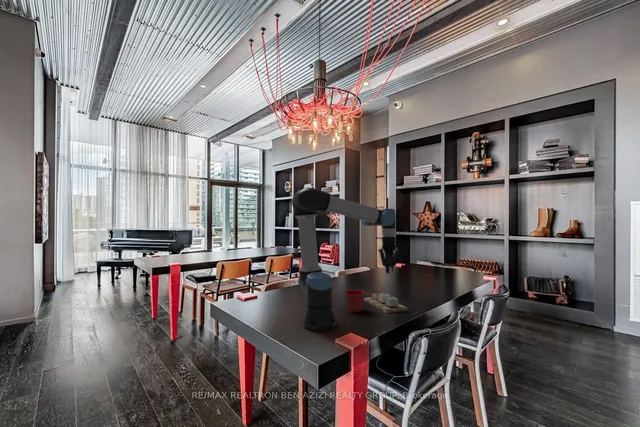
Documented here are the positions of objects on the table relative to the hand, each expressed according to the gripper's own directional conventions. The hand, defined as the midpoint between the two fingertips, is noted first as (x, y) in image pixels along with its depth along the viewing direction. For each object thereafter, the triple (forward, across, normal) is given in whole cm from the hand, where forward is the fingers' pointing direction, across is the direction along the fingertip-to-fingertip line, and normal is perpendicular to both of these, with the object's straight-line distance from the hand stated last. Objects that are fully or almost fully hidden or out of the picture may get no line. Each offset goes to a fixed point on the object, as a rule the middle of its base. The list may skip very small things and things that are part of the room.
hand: (389, 278), depth 158 cm
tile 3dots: (+15, -1, -14) cm, 21 cm away
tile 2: (+14, 0, +2) cm, 14 cm away
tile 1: (+14, 0, -6) cm, 15 cm away
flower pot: (+17, +20, -4) cm, 26 cm away
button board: (+16, 0, -6) cm, 17 cm away
